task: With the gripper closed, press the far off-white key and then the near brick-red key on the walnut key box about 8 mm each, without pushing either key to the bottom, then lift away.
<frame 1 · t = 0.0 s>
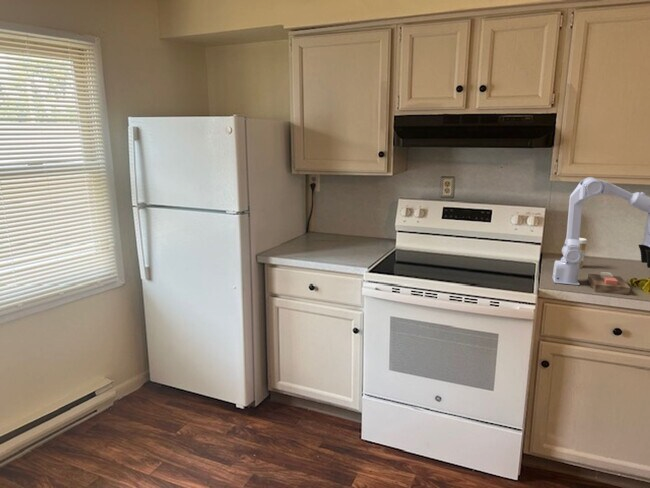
hand: (647, 265, 194), 10 cm above the worktop, tool pointing down, fingers open, 7 cm apart
red key: (610, 282, 194), point 3 cm above the worktop, slide at 0.0 cm
key box: (607, 287, 198), on the worktop
sprinkles bottle: (577, 267, 226), on the worktop
white key: (606, 276, 201), point 3 cm above the worktop, slide at 0.0 cm
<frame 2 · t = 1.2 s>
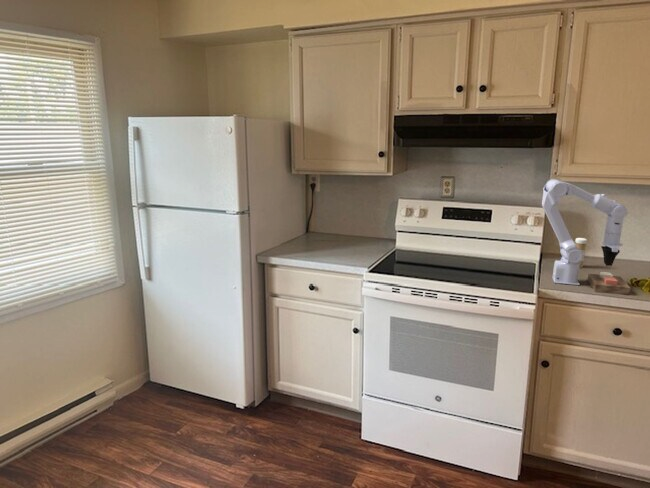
hand: (607, 264, 200), 8 cm above the worktop, tool pointing down, fingers closed
nothing on the worktop moved.
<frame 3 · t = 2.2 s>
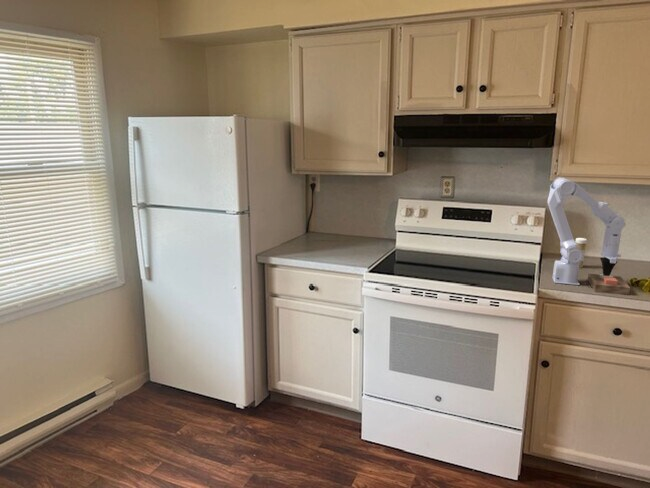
hand: (606, 275, 201), 4 cm above the worktop, tool pointing down, fingers closed, pressing on white key
white key: (605, 278, 201), point 3 cm above the worktop, slide at 0.7 cm, touching gripper
everything else where it was.
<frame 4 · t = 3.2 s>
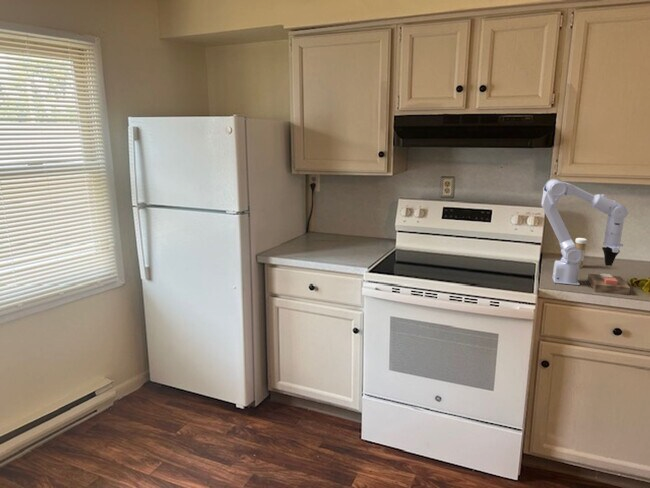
hand: (608, 265, 199), 8 cm above the worktop, tool pointing down, fingers closed
white key: (605, 278, 201), point 3 cm above the worktop, slide at 0.7 cm
everything else where it was.
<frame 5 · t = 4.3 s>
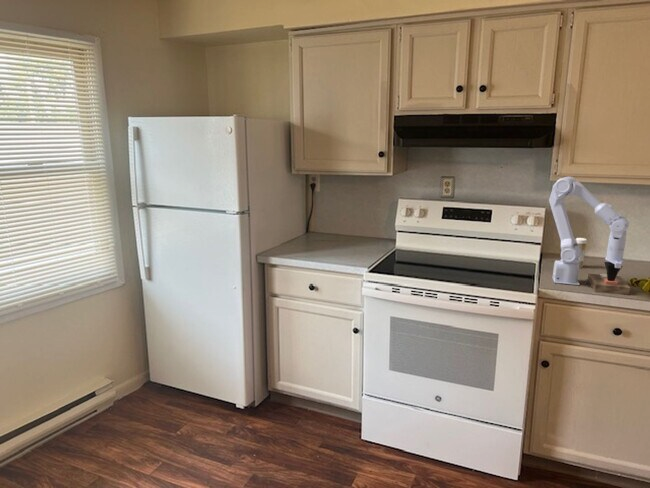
hand: (610, 280, 194), 4 cm above the worktop, tool pointing down, fingers closed, pressing on red key
red key: (610, 283, 194), point 3 cm above the worktop, slide at 0.6 cm, touching gripper
everything else where it was.
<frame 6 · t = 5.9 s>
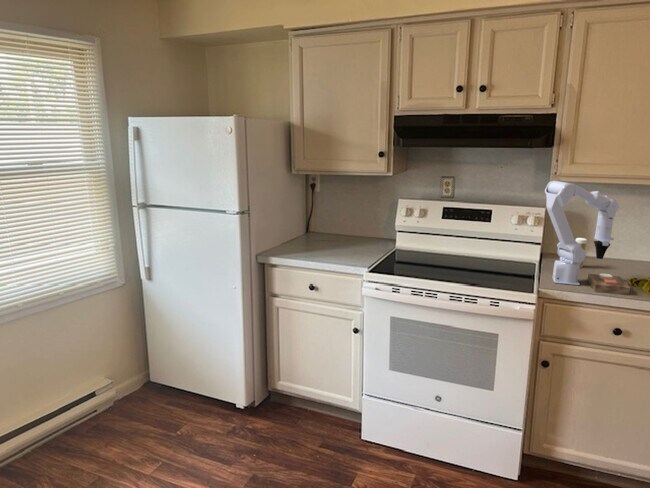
hand: (599, 258, 206), 9 cm above the worktop, tool pointing down, fingers closed
red key: (610, 283, 194), point 3 cm above the worktop, slide at 0.7 cm
everything else where it was.
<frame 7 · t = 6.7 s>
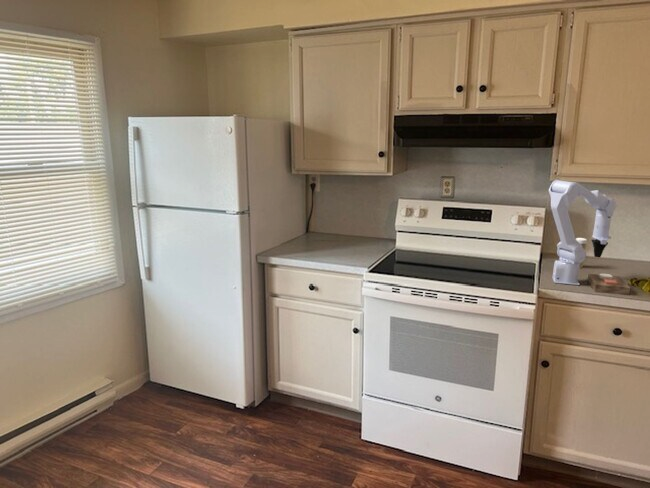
hand: (597, 256, 208), 9 cm above the worktop, tool pointing down, fingers closed
nothing on the worktop moved.
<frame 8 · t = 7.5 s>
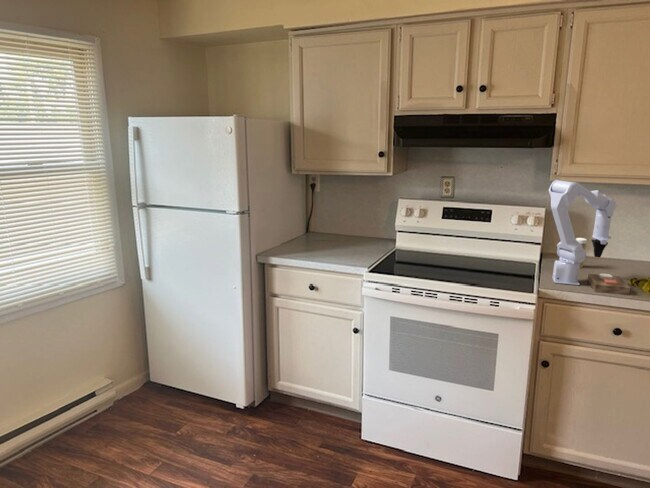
hand: (597, 256, 208), 9 cm above the worktop, tool pointing down, fingers closed
nothing on the worktop moved.
at the end: white key slide at 0.7 cm; red key slide at 0.7 cm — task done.
